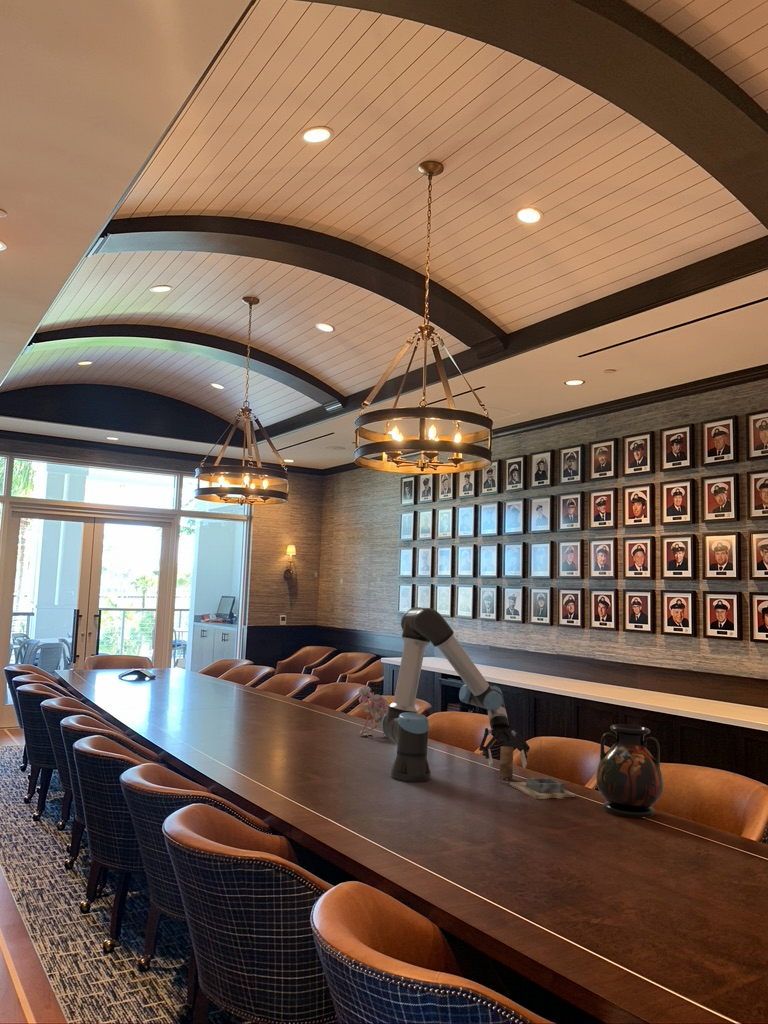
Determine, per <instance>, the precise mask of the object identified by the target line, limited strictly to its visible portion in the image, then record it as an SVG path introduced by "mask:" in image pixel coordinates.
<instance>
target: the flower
mask: <svg viewBox="0 0 768 1024" xmlns="http://www.w3.org/2000/svg"><path fill="white" fill-rule="evenodd" d="M360 687H361V688H360V689H359V690H358V693H359V695H360V697H359V698H358V703H361V704H362V703H364V704H363V705H359V706H358V707H357V709H356V710H359V709H363V708H364V709H365V710H364V713H367V717H366V721H365V723H364V726H363V727H362V729H361V730H360V732H359V734H358V735H357V737H358V736H359V737H362V736H366V735H367V736H366V737H369V736H368V735H371V736H372V735H373V732H371V731H372V730H375V729H376V728H377V729H380V728H381V729H382V726H381V724H382V719H383V717H384V715H385V714H386V713H387V712H388V708H389V705H390V704H389V702H388V697H386V698H385V697H384V694H382V695H381V694H378V693H377V694H375V693H374V692H371V688H370V687H367V686H363V685H362V684H361V686H360ZM369 701H370V702H369ZM365 704H366V705H365ZM367 704H368V705H367ZM370 714H371V716H372V719H370ZM371 724H373V727H372V728H369V729H368V727H369V726H370V725H371ZM382 735H383V736H384V733H383V732H382Z"/></svg>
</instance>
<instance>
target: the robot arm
mask: <svg viewBox="0 0 768 1024" xmlns="http://www.w3.org/2000/svg"><path fill="white" fill-rule="evenodd" d="M400 627H401V630H402V632H401V633H402V635H401V639H402V641H403V642H404V645H403V648H402V655H401V659H400V666H399V671H398V676H397V679H396V680H397V682H396V687H395V690H394V692H395V693H394V697H393V702H392V703H390V704H388V705H389V708H388V707H387V708H388V712H387V713H385V715H384V717H383V719H382V724H381V726H382V728H381V731H382V734H383V733H384V735H385V737H386V738H387V739H388V740H389V741H391V742H393V743H396V755H395V756H396V757H395V759H394V762H393V765H392V767H391V770H390V778H392V779H394V780H398V781H402V782H403V781H404V782H409V783H410V782H411V783H412V782H415V783H418V782H420V783H421V782H422V783H423V782H427V781H430V780H431V779H432V776H431V775H432V773H431V769H430V764H429V760H428V746H429V745H428V744H429V729H430V725H429V718H428V717H427V716H426V715H424V714H422V713H418V710H417V709H416V706H415V705H416V700H417V699H416V698H417V693H418V687H419V683H420V678H421V677H420V676H421V671H422V666H423V660H424V656H425V655H424V654H425V650H426V647H427V646H428V645H429V644H432V645H433V646H434V647H436V648H438V649H439V650H440V652H441V653H442V655H443V656H444V657H445V659H447V661H448V662H449V664H450V665H451V667H452V668H453V669H454V671H455V672H456V673H457V675H458V676H459V677H460V679H461V680H462V682H464V684H463V685H462V686H461V688H460V689H459V693H458V697H459V700H460V702H461V703H465V704H467V705H471V706H475V707H479V708H483V709H485V710H486V712H487V715H488V720H489V727H490V729H489V728H487V727H485V728H484V731H483V737H482V739H481V743H480V746H479V747H478V750H479V751H480V752H482V751H483V754H484V757H485V759H487V762H488V767H489V768H492V766H493V765H494V763H493V756H492V752H491V747H492V746H493V744H494V743H495V742H496V741H498V742H507V743H509V744H511V745H512V747H513V748H515V749H516V750H518V751H519V752H520V754H519V755H520V761H521V764H522V768H523V769H526V767H527V765H528V762H527V759H528V753H529V752H530V749H531V746H529V744H528V743H527V742H526V740H525V738H523V737H522V735H521V734H520V732H519V729H518V728H515V729H514V730H511V729H510V723H509V719H508V714H507V710H506V705H505V701H504V695H503V692H502V690H501V688H500V687H499V686H496V685H493V686H492V685H490V684H489V683H488V681H487V680H486V678H485V677H484V676H483V674H482V673H481V672H480V670H479V668H478V667H477V666H476V664H475V663H474V662H473V661H472V659H471V658H470V656H469V655H468V654H467V652H466V650H464V648H463V646H461V644H460V643H459V641H458V640H457V638H456V637H455V636H454V634H455V631H454V630H453V629H452V627H451V626H450V625H449V623H448V622H447V621H446V619H445V618H444V617H443V616H442V614H441V613H440V612H438V611H437V610H436V609H433V608H432V607H431V608H430V607H418V606H416V607H415V606H414V607H411V608H409V609H407V610H405V611H404V613H403V614H402V616H401V618H400ZM384 735H383V736H384ZM490 735H491V736H492V737H491V738H490V740H489V741H488V743H487V744H486V741H487V738H488V736H490ZM485 744H486V745H485Z"/></svg>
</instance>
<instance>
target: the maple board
mask: <svg viewBox="0 0 768 1024" xmlns="http://www.w3.org/2000/svg"><path fill="white" fill-rule="evenodd" d="M510 785H511V786H512V788H513V787H514V789H515V788H516V789H515V790H517V789H518V790H517V791H519V790H520V791H519V792H521V793H523V794H525V795H527V796H530V797H531V798H533V799H535V800H548V799H549V798H557V799H564V798H563V797H575V796H576V797H577V795H576V793H573V792H571V791H569V790H567V789H565V783H563V782H561V781H559V780H556V779H554V778H552V777H527V778H525V781H510V782H509V786H510ZM511 786H510V787H511ZM547 798H548V799H547Z"/></svg>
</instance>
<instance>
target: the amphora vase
mask: <svg viewBox="0 0 768 1024" xmlns="http://www.w3.org/2000/svg"><path fill="white" fill-rule="evenodd" d="M609 727H610V730H611V731H613V732H614V733H615V734H616V735H614V734H613V733H611V732H605V733H603V735H602V736H601V739H600V747H599V748H600V751H599V752H600V753H599V762H598V766H597V770H596V774H595V775H596V777H595V779H596V786H597V789H598V791H599V794H600V795H601V796H602V798H603V799H604V800H606V801H605V802H604V803H603V804H602V805H603V808H604V810H605V811H606V812H608V813H610V814H612V815H615V816H618V815H619V817H623V816H624V818H629V817H633V818H632V819H643V818H642V817H648V818H650V817H649V816H651V817H653V816H654V815H655V813H656V812H655V809H654V808H655V807H653V806H654V805H656V803H657V802H658V801H659V799H660V798H661V797H662V794H663V791H664V780H663V774H662V771H661V759H660V758H661V757H660V756H661V751H660V750H661V749H660V743H659V742H658V739H657V738H655V737H652V736H649V737H647V738H645V736H646V735H648V734H650V733H651V730H650V729H649V727H648V728H647V727H645V726H641V725H633V724H619V723H618V724H612V725H610V726H609ZM607 737H611V739H612V740H613V744H612V746H611V747H610V748H609V749H607V751H605V741H606V738H607ZM644 738H645V739H644ZM648 742H652V743H654V745H655V758H654V756H653V755H652V754H651V752H650V751H649V750H648V749H647V745H648ZM652 815H653V816H652Z"/></svg>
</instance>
